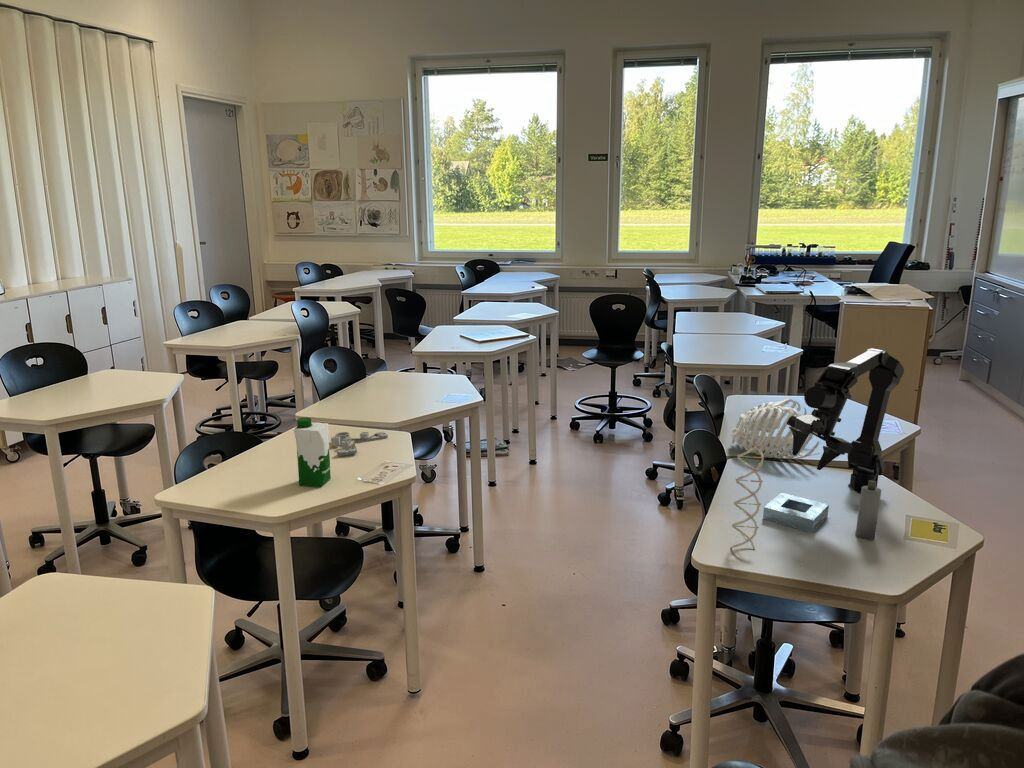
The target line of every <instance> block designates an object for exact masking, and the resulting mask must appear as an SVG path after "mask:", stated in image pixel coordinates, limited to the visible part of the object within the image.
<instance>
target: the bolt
mask: <svg viewBox="0 0 1024 768" xmlns="http://www.w3.org/2000/svg"><path fill="white" fill-rule="evenodd" d="M712 467H713V468H711V473H712V478H713V480H714V482H715V483H716V482H717V481H718V480H719V473H718V471H717V469H716V468H715V466H712Z"/></svg>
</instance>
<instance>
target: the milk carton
mask: <svg viewBox="0 0 1024 768" xmlns="http://www.w3.org/2000/svg"><path fill="white" fill-rule="evenodd" d="M296 421H297V423H296V424H297V425H296V427H295V428H294V429H293V433H294V438H295V443H296V455H297V456H296V457H297V468H298V469H297V470H298V484H299V485H298V486H299V487H308V488H323V487H324V486H326V484H327V483H328V482H329V481H330V480H331V456H330V441H329V423H326V422H325V423H322V422H313V421H312V418H311V417H299V418H298V419H297V420H296Z"/></svg>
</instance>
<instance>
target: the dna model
mask: <svg viewBox="0 0 1024 768" xmlns="http://www.w3.org/2000/svg"><path fill="white" fill-rule="evenodd" d="M766 434H767V433H765V434H764V437H763V441H762V442H761V443H760V444H759V445H758V446H757V445H755V444H754V443H752V442H751V441H750V440H749V439H748V438H746V437H744V436H743V435H742V433H741V432H740V436H741V437H742V438H744V439H745V440H746V441H748V442H749V443H751V444H752V445H753V446H754V448H753V447H752V449H750V450H748V451H747V450H745V451H744V452H742V453H740V454H736V455H737V457H736V458H737V459H738V461H739V462H741V463H743V464H744V465H745V466H747V467H748V468H749V469H751V470H752V471H750V472H748V473H746V474H745V475H744V474H741V476H739V477H737V478H734V479H735V482H736V484H737V485H739V486H740V487H742V488H744V490H746V491H747V492H748V493H749V495H747V496H745V497H743V498H740V499H738V500H735V501H734V502H733V505H734V506H735V507H737V508H738V509H739V510H740V511H742V512H743V513H744V514H746V516H747V518H745V519H742V520H740V521H737V522H735V523H732V524H731V527H732V528H733V529H734V530H736V531H738V532H739V533H740V534H741V536H743V539H744V541H742V542H740V543H735V544H734V545H731V546H730V547H729V548H730V549H733V548H737V547H740V546H742V545H743V546H744V545H745V544H747V543H750V544H751V547H752V549H753V550H756V547H755V544H754V542H753V539H754V538H755V536H756V535H757V531H758V529H759V528H760V527H759V526H758V523H757V521H756V519H754V518H755V517H756V516H757V514H758V513H759V510H760V506H761V505H762V503H760V501H759V498H758V497H757V493H758V492H759V491H760V490H761V488H762V483H763V482H764V481H763V480H762V477H761V475H760V474H759V473H758V471H759V470H760V469H761V468H762V466H763V465H764V464H763V463H764V460H765V457H764V456H763V454H764V452H763V453H762V451H761V450H760V449H759V447H760V446H761V445H762V444H763V443H764V442H765V438H766V437H767V435H766ZM755 449H757V452H758V451H759V452H760V456H746V455H748V454H751V452H752V451H754V450H755ZM742 458H749V459H750V458H751V459H761V460H760V461H759V463H758V464H757V467H755V468H754V467H753V466H752V465H750V464H749V463H748V462H746V460H743V459H742ZM753 474H755V475H756V476H757V479H758V480H750V482H752V483H758V486H757V487H758V488H757V489H756V490H755V491H753V490H751V489H750V488H748V486H746V485H745V484H743V483H741V482H748V479H744V478H747V477H748V476H750V475H753ZM752 497H754V500H755V502H756V503H751V502H750V503H748V505H753V506H756V510H755V512H753V514H752V513H750V512H748V510H746V509H745V508H743V507H742V506H740V505H747V502H742V501H746V500H748V499H749V498H752ZM750 520H752V522H753V524H754V526H748V525H747V526H745V525H741V524H744V523H746V522H748V521H750ZM740 528H747V529H748V528H749V529H754V531H753V534H752V535H751V536H749V535H747V533H745V532H744V531H743V530H742V529H740Z"/></svg>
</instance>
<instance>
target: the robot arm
mask: <svg viewBox="0 0 1024 768" xmlns="http://www.w3.org/2000/svg"><path fill="white" fill-rule="evenodd" d="M867 372H869V373H868V380H869V382H870V386H871V391H870V396H869V399H868V404H867V407H866V410H865V411H866V413H865V415H864V420H863V424H862V426H861V427H862V428H861V432H860V435H859V437H858V438H856V439H855V440H852V441H851V442H849V441H848V440H845V439H844V438H841V437H837V436H835V434H836V432H835V431H834V429H835V427H836V425H837V423H841V422H842V418H840V416H841V414H842V411H843V409H844V407H845V405H846V404H847V403H846V402H847V401H848V399H849V400H850V399H852V394H851V393H850V389H851V388H852V387H854V386H855V385H856V384H857V383H858V380H859V379H858V378H860V377H861V376H862V375H864V374H865V373H867ZM904 373H905V369H904V366H903V364H902V363H901V361H899V360H898V359H897V358H895V357H893V356H892V355H890V354H889V352H888V351H885V350H884V349H877V348H867V349H866V351H865V352H863V353H861V354H859V355H857V356H856V357H854V358H852V359H850V360H848V361H846V362H835V363H830V364H829V365H828V366H826V368H825V369H824V371H823V372H822V373H821V375H820V376H819V378H818V379H817V380H816V381H815V382H814V385H813V386H811V387H810V388H808V389H807V390H806V391H805V393H804V396H803V399H804V403H805V405H806V406H807V407H808V408H811V409H813V410H812V412H811V413H810V414H806V415H803V414H801V415H802V416H800V415H799V416H798V417H797V416H796V415H794V416H791V417H790V418H789V419H788V421H787V423H786V424H788V425H787V426H788V429H789V430H791V431H792V433H793V435H792V437H793V450H792V454H793V455H795V457H797V456H798V455H797V453H798V452H799V451H800V449H801V447H802V446H803V444H804V443H805V441H806V440H807V439H808V437H809V435H810V433H811V434H813V436H815V437H816V438H819V439H820V440H822V441H824V442H825V445H823V446H822V449H823V451H822V455H821V457H820V459H819V460H818V461H819V462H818V464H817V467H816V470H817V471H821V470H822V469H824V467H826V466H827V465H828V464H829V463H831V462H832V461H833V460H835V459H836V458H838V457H839V456H841V455H843V456H845V454H847V467H848V469H852V473H851V474H850V481H849V483H848V484H847V487H849V488H850V489H851V490H853V491H854V492H856V493H857V494H858V495H861V488H862V486H868V481H869V480H873V481H876V487H877V488H878V481H879V476H883V475H884V472H885V470H886V464H885V462H884V460H883V458H882V453H883V449H882V446H881V444H880V441H879V438H880V435H881V430H882V426H883V422H884V420H885V419H884V418H885V414H886V411H887V406H888V402H889V399H890V395H891V393H892V391H893V390H894V389H895V388H896V387H897V386H899V384H900V381H901V379H902V377H903V375H904ZM796 455H797V456H796Z"/></svg>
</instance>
